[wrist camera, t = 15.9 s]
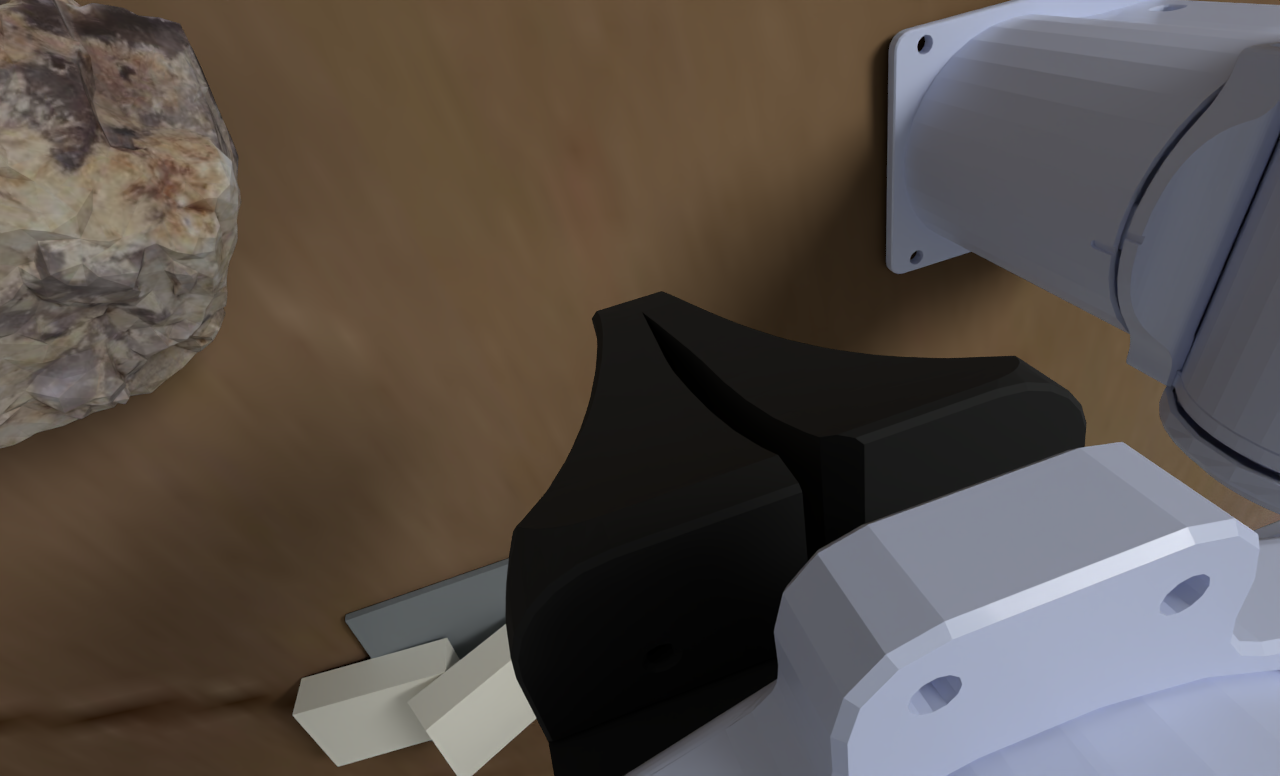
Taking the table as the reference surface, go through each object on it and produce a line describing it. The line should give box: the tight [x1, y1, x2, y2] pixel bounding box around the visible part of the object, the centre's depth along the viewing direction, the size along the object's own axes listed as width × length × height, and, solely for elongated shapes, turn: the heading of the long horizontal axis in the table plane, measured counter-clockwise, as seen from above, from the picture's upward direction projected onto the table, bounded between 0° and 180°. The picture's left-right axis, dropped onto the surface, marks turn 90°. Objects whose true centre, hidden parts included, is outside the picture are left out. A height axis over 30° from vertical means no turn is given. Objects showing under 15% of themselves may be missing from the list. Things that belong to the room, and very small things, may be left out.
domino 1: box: [292, 638, 460, 767], centre depth 28 cm, size 2×4×6 cm
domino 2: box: [407, 624, 536, 776], centre depth 28 cm, size 2×4×6 cm
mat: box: [345, 558, 509, 741], centre depth 31 cm, size 26×9×1 cm, turn 102°
